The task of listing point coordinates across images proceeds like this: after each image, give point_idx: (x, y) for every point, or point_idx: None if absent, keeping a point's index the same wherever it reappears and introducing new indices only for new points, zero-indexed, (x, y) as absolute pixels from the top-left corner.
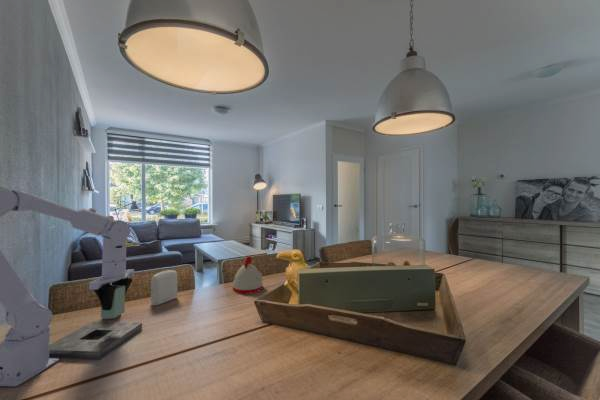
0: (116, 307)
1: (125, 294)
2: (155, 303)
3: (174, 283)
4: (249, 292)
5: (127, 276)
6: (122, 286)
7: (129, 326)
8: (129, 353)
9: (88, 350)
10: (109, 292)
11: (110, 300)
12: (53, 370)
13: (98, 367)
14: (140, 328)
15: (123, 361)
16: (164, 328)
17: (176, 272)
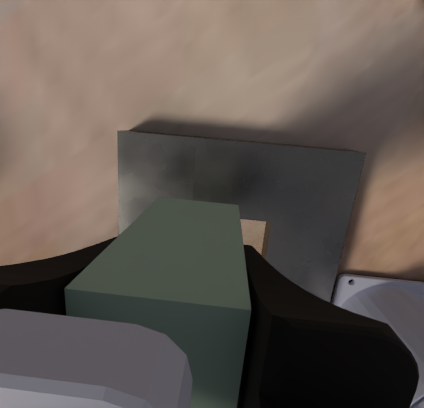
0: (222, 220)
1: (93, 246)
2: None
3: None
4: None
5: (18, 337)
6: (102, 301)
7: (157, 167)
8: (323, 59)
9: (348, 203)
10: (354, 315)
11: (273, 269)
12: (389, 252)
13: (402, 120)
14: (136, 131)
15: (380, 47)
16: (116, 21)
17: None
